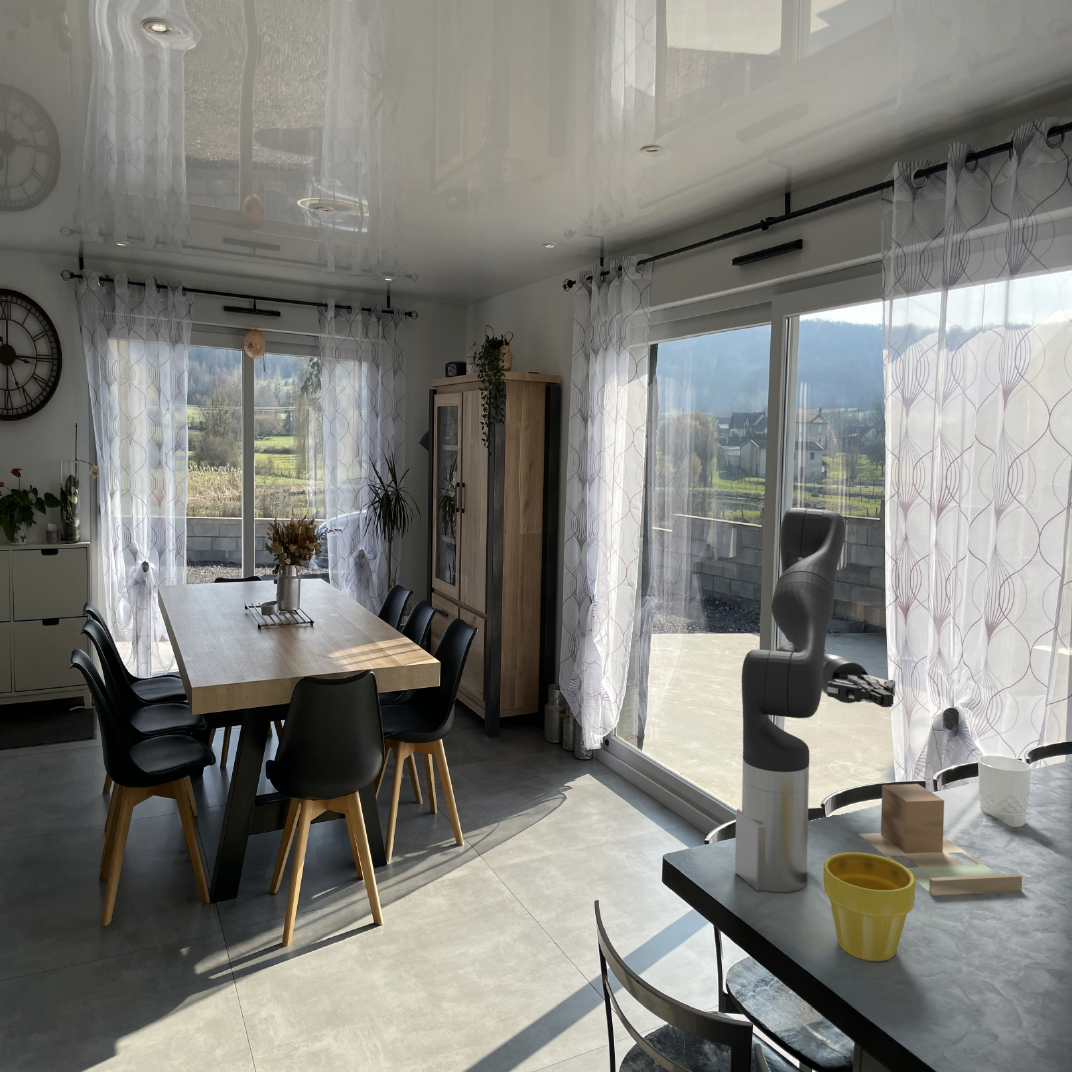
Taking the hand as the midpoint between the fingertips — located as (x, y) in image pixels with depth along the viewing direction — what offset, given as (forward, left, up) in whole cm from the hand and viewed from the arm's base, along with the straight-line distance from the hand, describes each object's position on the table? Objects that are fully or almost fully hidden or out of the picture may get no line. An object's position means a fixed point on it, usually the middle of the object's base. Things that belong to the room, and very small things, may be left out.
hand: (888, 701), depth 133 cm
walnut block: (-1, -7, -20) cm, 22 cm away
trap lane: (-2, -13, -22) cm, 26 cm away
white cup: (+23, -1, -22) cm, 32 cm away
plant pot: (-26, -28, -22) cm, 44 cm away
